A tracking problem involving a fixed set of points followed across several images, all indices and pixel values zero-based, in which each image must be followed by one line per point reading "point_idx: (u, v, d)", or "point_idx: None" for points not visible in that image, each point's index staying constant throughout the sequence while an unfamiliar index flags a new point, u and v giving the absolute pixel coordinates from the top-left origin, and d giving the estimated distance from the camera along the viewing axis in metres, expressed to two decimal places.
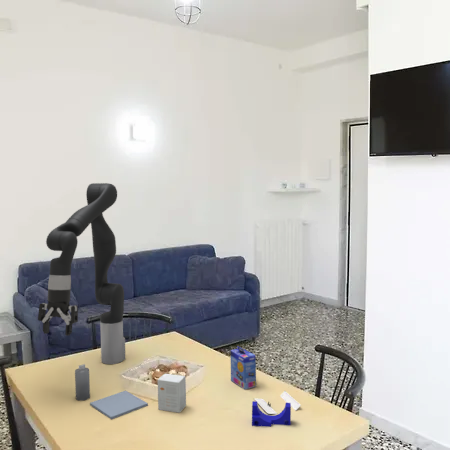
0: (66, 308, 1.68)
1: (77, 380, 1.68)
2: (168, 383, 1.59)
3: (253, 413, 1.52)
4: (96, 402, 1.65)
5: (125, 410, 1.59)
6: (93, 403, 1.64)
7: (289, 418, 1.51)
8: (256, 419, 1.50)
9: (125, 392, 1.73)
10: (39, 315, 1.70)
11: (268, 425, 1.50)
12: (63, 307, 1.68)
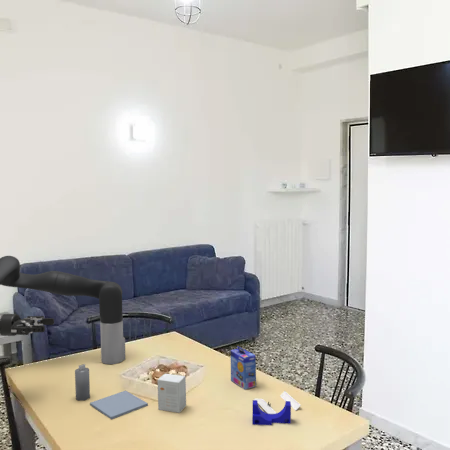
0: None
1: (77, 380, 1.68)
2: (168, 383, 1.59)
3: (253, 412, 1.52)
4: (96, 402, 1.65)
5: (125, 410, 1.59)
6: (93, 403, 1.64)
7: (289, 416, 1.52)
8: (257, 418, 1.51)
9: (125, 392, 1.73)
10: (23, 327, 1.62)
11: (269, 423, 1.51)
12: None
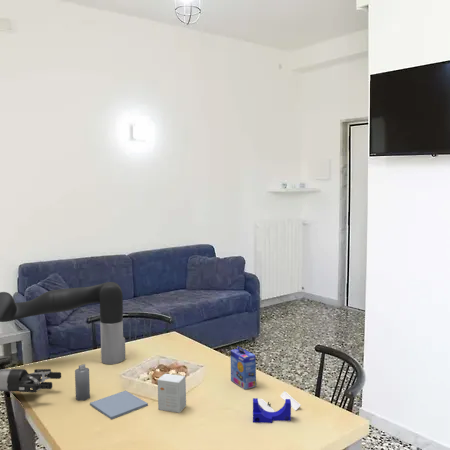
0: None
1: (77, 380, 1.68)
2: (168, 383, 1.59)
3: (254, 410, 1.54)
4: (96, 402, 1.65)
5: (125, 410, 1.59)
6: (93, 403, 1.64)
7: (289, 414, 1.53)
8: (257, 416, 1.52)
9: (125, 392, 1.73)
10: (30, 384, 1.63)
11: (269, 421, 1.52)
12: None
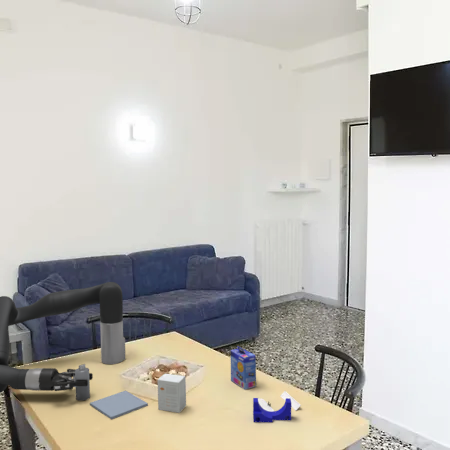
0: None
1: None
2: (168, 383, 1.59)
3: (254, 409, 1.54)
4: (96, 402, 1.65)
5: (125, 410, 1.59)
6: (93, 403, 1.64)
7: (290, 413, 1.54)
8: (258, 415, 1.52)
9: (125, 392, 1.73)
10: (67, 382, 1.64)
11: (270, 420, 1.52)
12: None
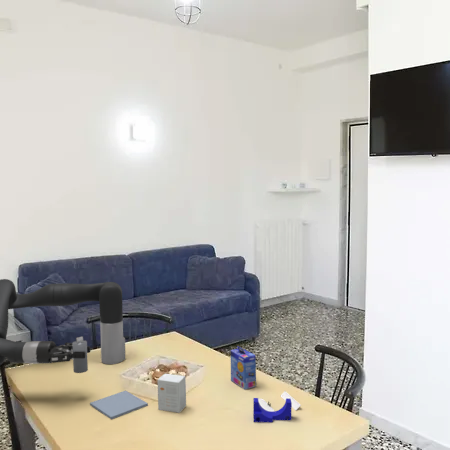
0: None
1: None
2: (168, 383, 1.59)
3: (254, 409, 1.54)
4: (96, 402, 1.65)
5: (125, 410, 1.59)
6: (93, 403, 1.64)
7: (290, 413, 1.54)
8: (258, 415, 1.53)
9: (125, 392, 1.73)
10: (64, 354, 1.63)
11: (270, 421, 1.53)
12: None
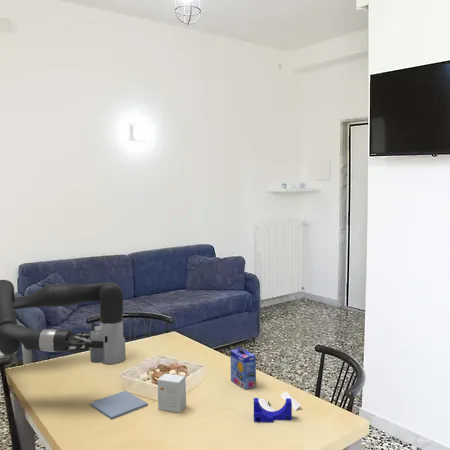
0: None
1: None
2: (168, 383, 1.59)
3: (255, 409, 1.54)
4: (96, 402, 1.65)
5: (125, 410, 1.59)
6: (93, 403, 1.64)
7: (290, 413, 1.54)
8: (258, 415, 1.53)
9: (125, 392, 1.73)
10: (82, 343, 1.60)
11: (270, 420, 1.53)
12: None
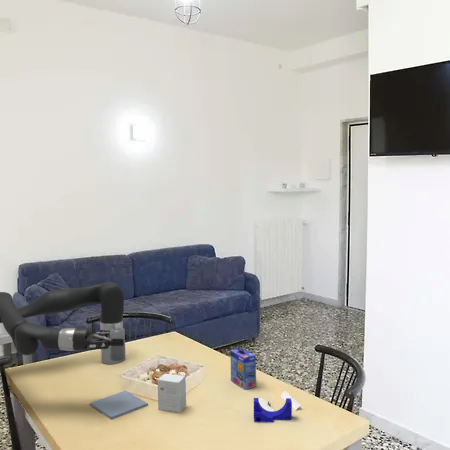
0: None
1: None
2: (168, 383, 1.59)
3: (255, 409, 1.54)
4: (96, 402, 1.65)
5: (125, 410, 1.59)
6: (93, 403, 1.64)
7: (290, 413, 1.54)
8: (258, 415, 1.53)
9: (125, 392, 1.73)
10: (102, 341, 1.57)
11: (270, 420, 1.53)
12: (96, 333, 1.65)
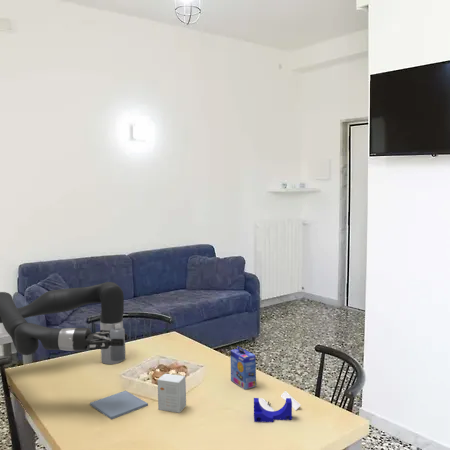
0: None
1: None
2: (168, 383, 1.59)
3: (255, 409, 1.54)
4: (96, 402, 1.65)
5: (125, 410, 1.59)
6: (93, 403, 1.64)
7: (290, 413, 1.54)
8: (258, 415, 1.53)
9: (125, 392, 1.73)
10: (102, 341, 1.57)
11: (271, 420, 1.53)
12: (96, 333, 1.65)
